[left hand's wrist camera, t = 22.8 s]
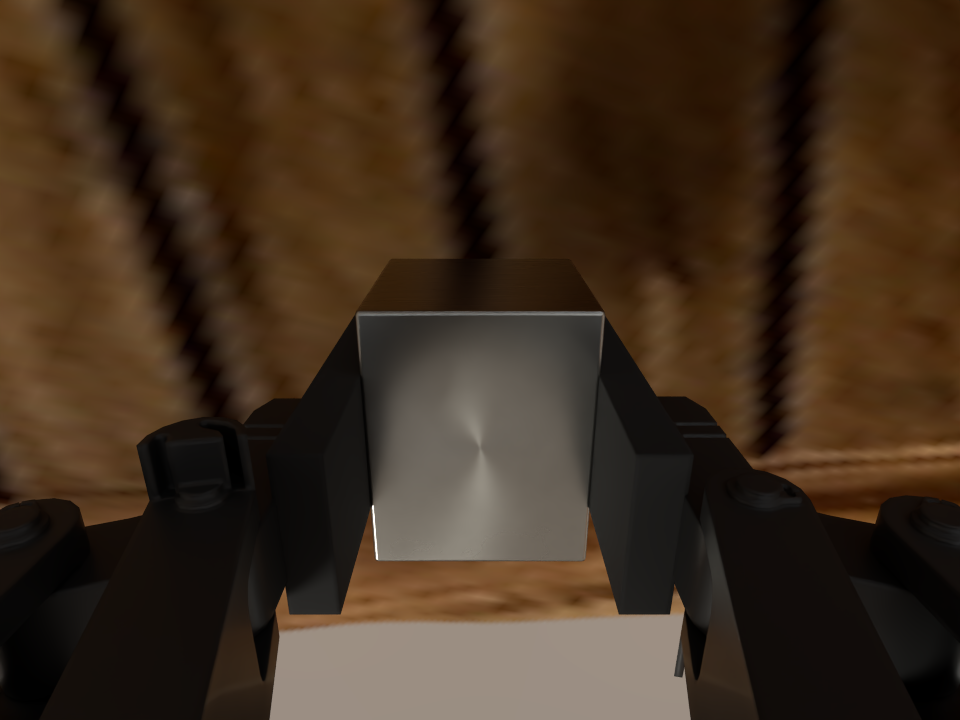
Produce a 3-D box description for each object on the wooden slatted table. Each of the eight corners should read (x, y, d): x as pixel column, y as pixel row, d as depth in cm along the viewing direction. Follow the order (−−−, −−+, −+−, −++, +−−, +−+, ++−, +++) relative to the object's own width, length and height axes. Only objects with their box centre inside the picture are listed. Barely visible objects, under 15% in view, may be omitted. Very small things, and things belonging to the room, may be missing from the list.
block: (560, 454, 16) (586, 562, 12) (400, 454, 16) (374, 562, 12) (571, 258, 14) (606, 311, 10) (389, 258, 14) (353, 311, 10)
